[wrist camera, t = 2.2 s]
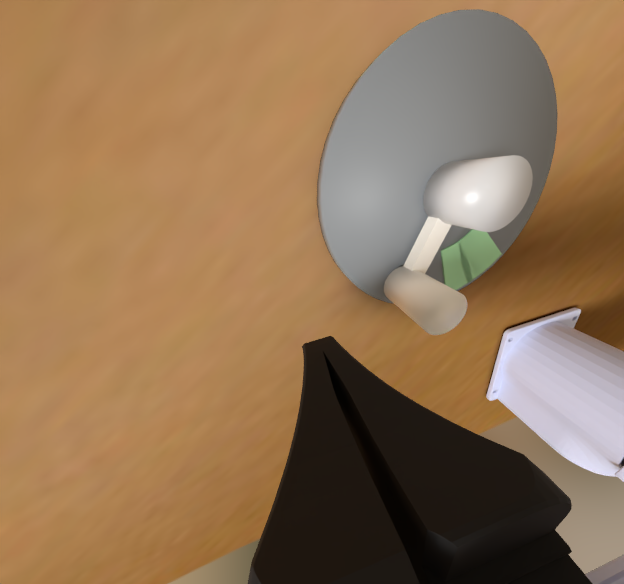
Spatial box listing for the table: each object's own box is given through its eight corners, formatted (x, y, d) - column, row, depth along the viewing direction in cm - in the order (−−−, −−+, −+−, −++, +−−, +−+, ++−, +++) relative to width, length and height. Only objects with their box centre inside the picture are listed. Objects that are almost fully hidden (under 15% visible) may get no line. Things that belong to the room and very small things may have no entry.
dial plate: (507, 270, 17) (521, 275, 16) (335, 320, 16) (340, 329, 15) (571, 7, 11) (601, -10, 10) (290, 45, 9) (294, 30, 8)
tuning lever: (442, 151, 11) (518, 138, 8) (482, 174, 12) (565, 171, 9) (373, 296, 14) (409, 330, 11) (410, 305, 15) (453, 338, 12)
